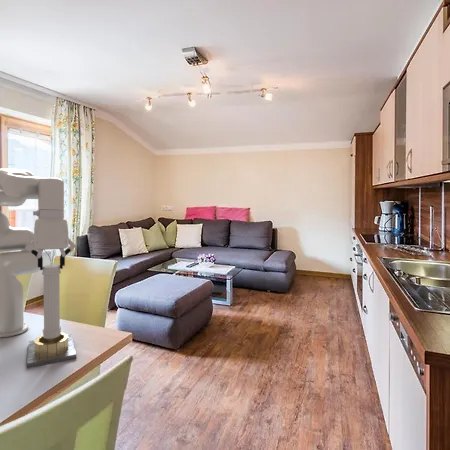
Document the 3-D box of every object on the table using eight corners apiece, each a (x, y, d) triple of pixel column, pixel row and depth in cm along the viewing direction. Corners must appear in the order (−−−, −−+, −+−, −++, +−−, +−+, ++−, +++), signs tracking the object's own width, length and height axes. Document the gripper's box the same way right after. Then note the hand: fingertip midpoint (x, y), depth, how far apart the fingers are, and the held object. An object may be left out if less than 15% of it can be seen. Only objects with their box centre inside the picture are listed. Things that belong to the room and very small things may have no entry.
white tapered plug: (53, 340, 105) (52, 250, 103) (36, 338, 106) (35, 249, 104) (64, 333, 111) (64, 248, 108) (49, 331, 112) (48, 247, 110)
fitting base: (28, 345, 115) (28, 330, 115) (71, 337, 122) (71, 324, 122) (27, 368, 99) (26, 351, 99) (76, 358, 107) (76, 342, 106)
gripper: (20, 215, 98) (20, 273, 99) (80, 215, 107) (80, 269, 108) (21, 214, 105) (22, 268, 106) (78, 214, 113) (78, 264, 114)
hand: (51, 268), depth 107 cm, fingers closed on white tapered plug, 5 cm apart
